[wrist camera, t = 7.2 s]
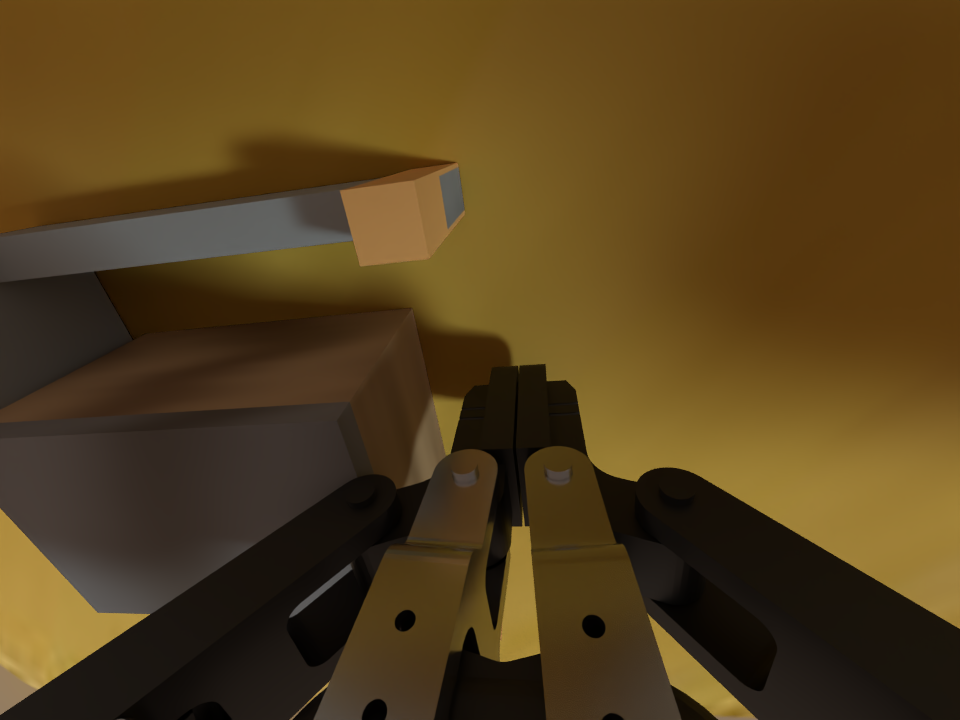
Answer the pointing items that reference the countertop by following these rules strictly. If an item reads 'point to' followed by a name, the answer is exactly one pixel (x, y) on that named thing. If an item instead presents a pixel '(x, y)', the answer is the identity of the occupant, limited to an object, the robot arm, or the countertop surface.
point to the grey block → (210, 446)
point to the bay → (188, 236)
